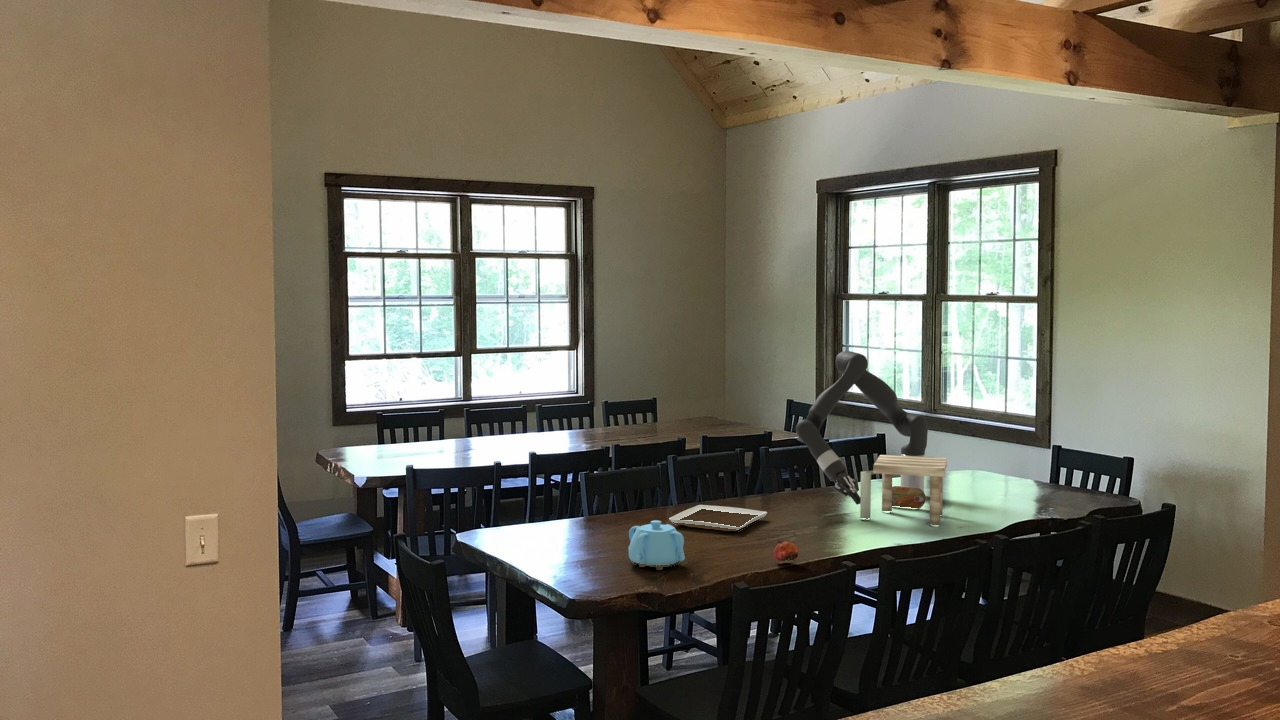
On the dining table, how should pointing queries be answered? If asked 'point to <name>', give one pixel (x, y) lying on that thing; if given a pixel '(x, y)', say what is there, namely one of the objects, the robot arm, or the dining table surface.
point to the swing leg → (865, 494)
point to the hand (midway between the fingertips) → (860, 502)
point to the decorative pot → (656, 544)
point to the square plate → (716, 508)
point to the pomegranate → (785, 551)
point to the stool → (916, 467)
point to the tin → (908, 497)
